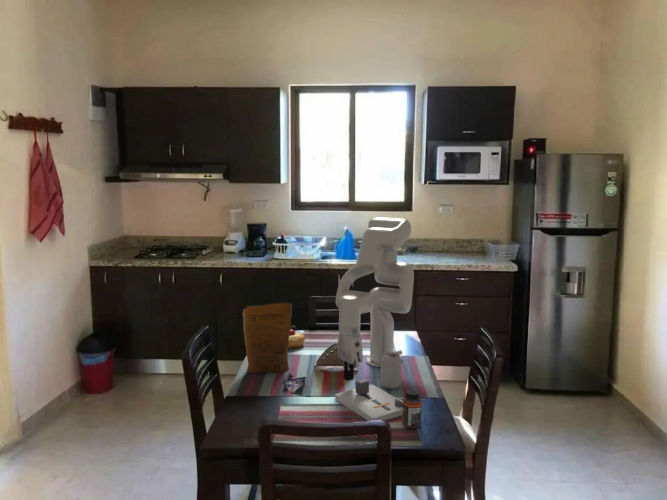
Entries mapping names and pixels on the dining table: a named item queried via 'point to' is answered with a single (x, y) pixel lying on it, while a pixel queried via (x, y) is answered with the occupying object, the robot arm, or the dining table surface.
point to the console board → (372, 403)
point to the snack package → (293, 382)
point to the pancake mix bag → (267, 337)
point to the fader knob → (362, 387)
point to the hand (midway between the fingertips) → (348, 379)
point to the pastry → (295, 339)
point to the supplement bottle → (412, 409)
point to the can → (391, 370)
